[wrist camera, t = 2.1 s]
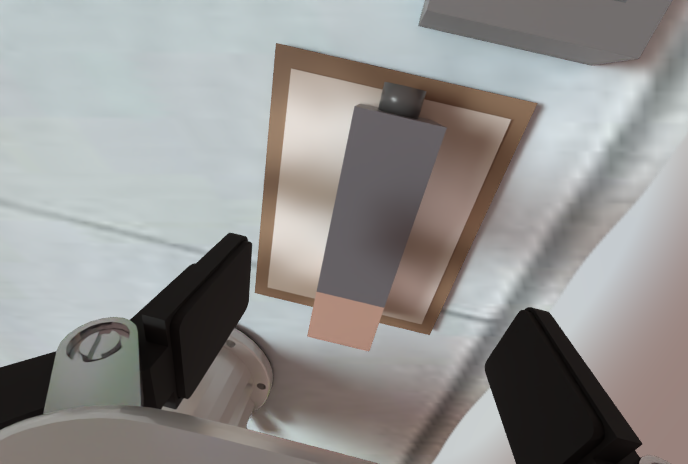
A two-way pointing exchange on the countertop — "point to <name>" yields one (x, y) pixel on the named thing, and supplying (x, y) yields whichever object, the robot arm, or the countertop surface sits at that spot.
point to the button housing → (553, 25)
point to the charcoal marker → (373, 214)
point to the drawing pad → (326, 163)
